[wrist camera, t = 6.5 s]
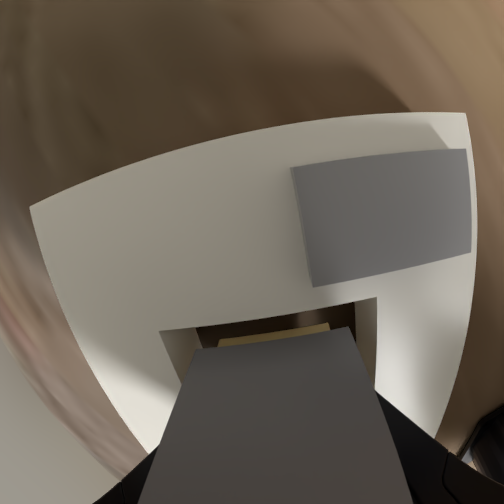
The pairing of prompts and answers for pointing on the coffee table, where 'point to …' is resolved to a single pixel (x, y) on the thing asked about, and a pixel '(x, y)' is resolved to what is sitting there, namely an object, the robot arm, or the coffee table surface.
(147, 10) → the coffee table surface
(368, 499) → the plug
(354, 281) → the socket plate
